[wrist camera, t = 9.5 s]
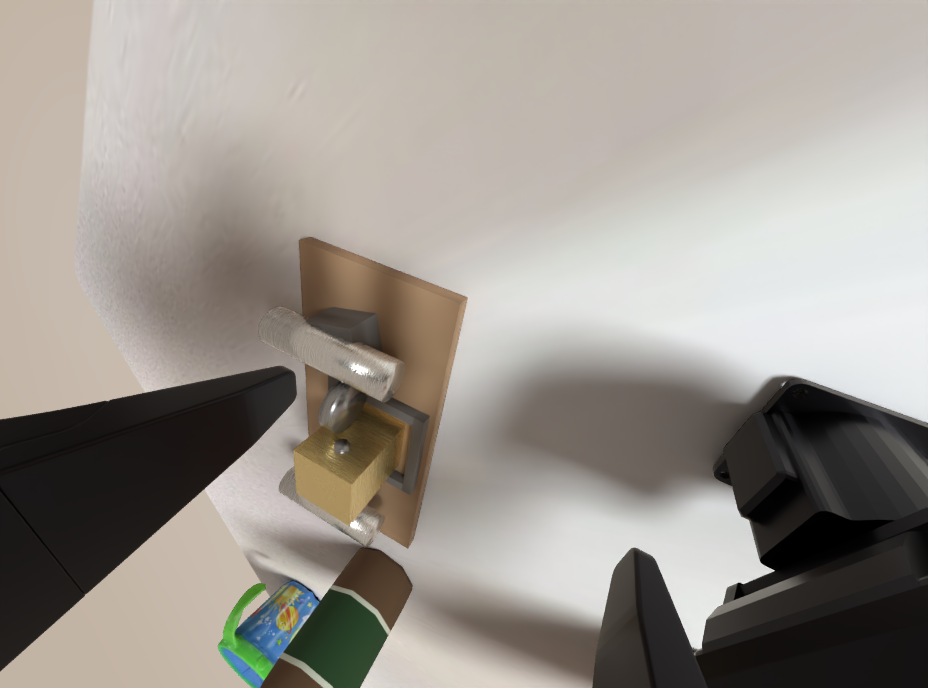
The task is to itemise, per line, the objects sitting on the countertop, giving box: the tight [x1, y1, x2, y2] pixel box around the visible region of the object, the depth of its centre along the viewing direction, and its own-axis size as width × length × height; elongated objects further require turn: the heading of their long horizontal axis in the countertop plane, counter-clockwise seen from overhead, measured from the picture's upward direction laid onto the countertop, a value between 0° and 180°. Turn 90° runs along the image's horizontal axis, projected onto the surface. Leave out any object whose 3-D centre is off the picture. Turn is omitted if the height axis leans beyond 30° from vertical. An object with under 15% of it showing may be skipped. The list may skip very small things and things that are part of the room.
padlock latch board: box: [299, 237, 467, 548], centre depth 28 cm, size 12×26×4 cm, turn 168°
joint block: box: [293, 403, 406, 526], centre depth 26 cm, size 5×4×6 cm
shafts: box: [258, 307, 405, 547], centre depth 27 cm, size 9×19×4 cm, turn 168°
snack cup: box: [218, 581, 320, 688], centre depth 51 cm, size 16×10×10 cm
